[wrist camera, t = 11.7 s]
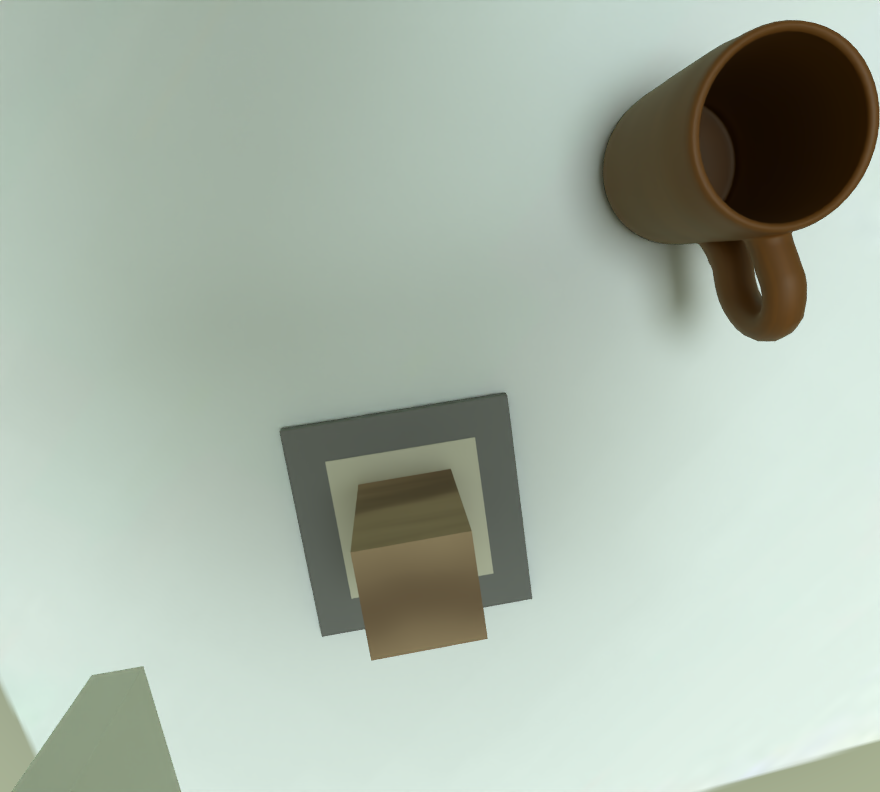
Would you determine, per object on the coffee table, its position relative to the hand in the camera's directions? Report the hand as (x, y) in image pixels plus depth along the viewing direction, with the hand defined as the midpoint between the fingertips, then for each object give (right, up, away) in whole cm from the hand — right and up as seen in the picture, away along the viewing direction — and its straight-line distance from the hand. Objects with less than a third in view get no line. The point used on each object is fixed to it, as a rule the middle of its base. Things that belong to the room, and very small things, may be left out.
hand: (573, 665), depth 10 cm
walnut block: (-4, -2, +24) cm, 24 cm away
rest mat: (-4, -2, +24) cm, 25 cm away
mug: (+10, +14, +22) cm, 28 cm away
